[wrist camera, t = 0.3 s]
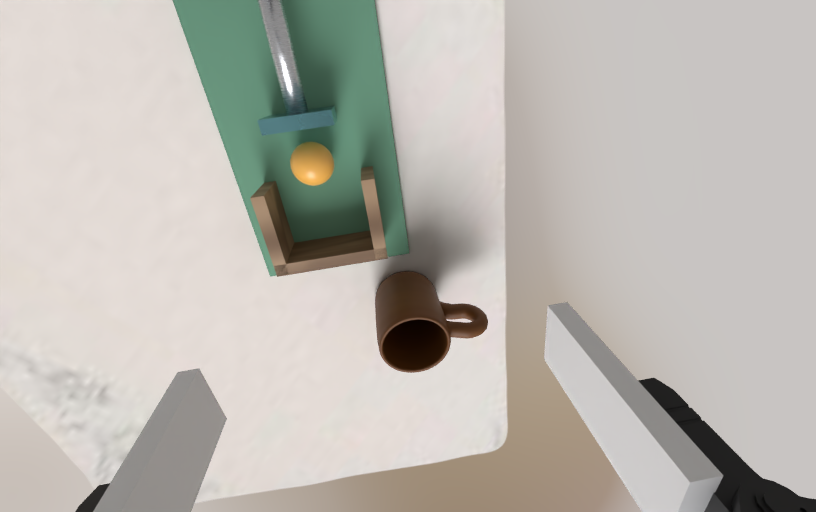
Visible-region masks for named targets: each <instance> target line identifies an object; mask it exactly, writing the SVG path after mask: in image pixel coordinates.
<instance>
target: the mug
mask: <svg viewBox="0 0 816 512" xmlns="http://www.w3.org/2000/svg"><path fill="white" fill-rule="evenodd" d="M375 308H376V328H377V340H378V345H379V351H380V354H381V356H382V358H383V360H384V361H385V362H386V363H387V364H388V365H389V366H390V367H392V368H394V369H396V370H398V371H402V372H410V373H412V372H421V371H425V370H428V369H430V368H432V367H434V366H436V365H437V364H438V363H439V362H441V361H442V360H443V359H444V357H445V356H446V354H447V353H448V351H449V347H450V343H451V338H450V337H456V338H473V337H476V336H479V335H481V334H482V333H483V332H484V331H485V330H486V329H487V325H488V319H487V316H486V315H485V313H484V312H483V311H482V310H481V309H479V308H478V307H476V306H473V305H470V304H449V303H443V302H440V301H439V299H438V296H437V293H436V290H435V288H434V286H433V284H432V283H431V282H430V281H429V280H428V279H427V278H426V277H425V276H423V275H421V274H419V273H416V272H410V271H405V272H399V273H396V274H393V275H391V276H389V277H388V278H386V279H385V280H384V281H383V282H382V283H381V285H380V286H379V288H378V290H377V293H376V297H375ZM461 318H465V319H469V320H471V321H472V322H470V323H463V322H450V321H447V320H446V319H461Z"/></svg>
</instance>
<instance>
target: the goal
mask: <svg viewBox="0 0 816 512" xmlns="http://www.w3.org/2000/svg"><path fill="white" fill-rule="evenodd" d="M361 184H362V189H363V195H364V200H365V205H366V211H367V216H368V221H369V226H370V230H369V231H363V232H357V233H351V234H345V235H339V236H332V237H326V238H320V239H314V240H308V241H302V242H295V243H294V240H293V236H292V233H291V230H290V226H289V223H288V220H287V216H286V213H285V210H284V207H283V203H282V200H281V197H280V193H279V190H278V187H277V183H276V181H273V182H266V183H263V184H262V185H261V186H260V188H259V189H258V190H257V191H256V192H255V193H254V194H253V195H252V196H251V198H250V199H251V202H252V205H253V208H254V211H255V214H256V217H257V220H258V223H259V225H260V228H261V231H262V234H263V237H264V240H265V243H266V246H267V249H268V252H269V255H270V257H271V260H272V263H273V266H274V269H275V272H276V275H277V277H278V276H284V275H290V274H296V273H302V272H309V271H315V270H321V269H327V268H333V267H339V266H345V265H351V264H357V263H363V262H369V261H375V260H381V259H387V258H388V256H387V250H386V243H385V236H384V231H383V225H382V219H381V213H380V207H379V201H378V195H377V189H376V184H375V178H374V172H373V166H370V167H364V168H361Z"/></svg>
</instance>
